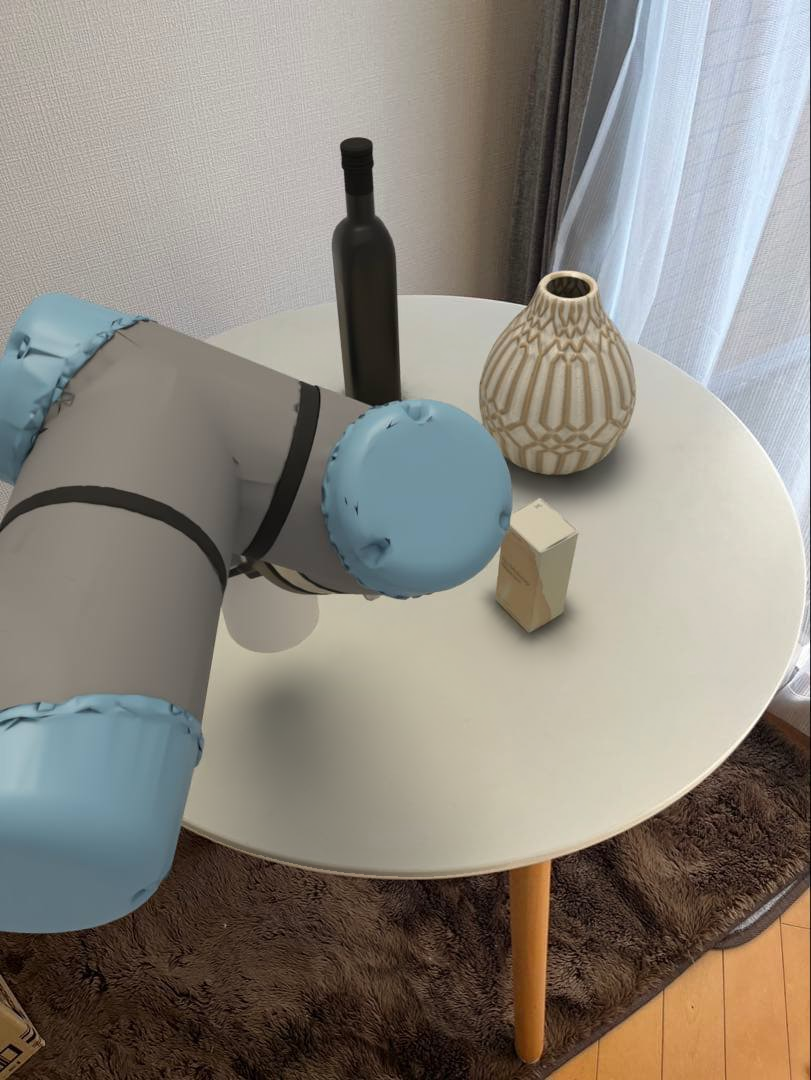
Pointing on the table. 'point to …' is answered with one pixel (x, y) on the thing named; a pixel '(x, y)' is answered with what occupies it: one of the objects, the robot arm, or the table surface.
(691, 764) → the table surface
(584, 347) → the vase
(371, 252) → the wine bottle
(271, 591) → the cup
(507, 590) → the box
